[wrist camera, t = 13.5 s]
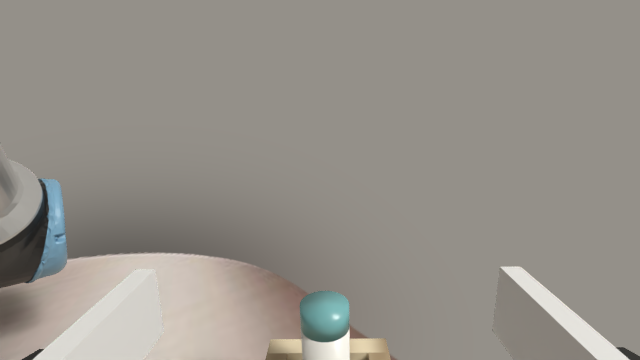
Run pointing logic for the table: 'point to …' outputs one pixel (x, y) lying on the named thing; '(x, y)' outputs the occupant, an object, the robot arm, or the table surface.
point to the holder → (364, 353)
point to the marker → (325, 326)
